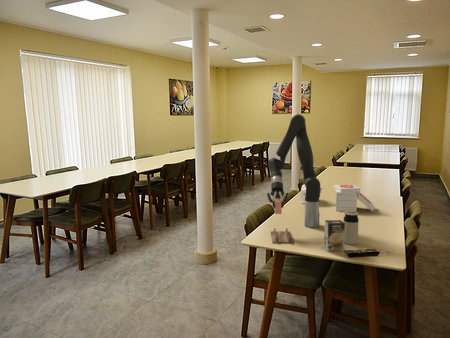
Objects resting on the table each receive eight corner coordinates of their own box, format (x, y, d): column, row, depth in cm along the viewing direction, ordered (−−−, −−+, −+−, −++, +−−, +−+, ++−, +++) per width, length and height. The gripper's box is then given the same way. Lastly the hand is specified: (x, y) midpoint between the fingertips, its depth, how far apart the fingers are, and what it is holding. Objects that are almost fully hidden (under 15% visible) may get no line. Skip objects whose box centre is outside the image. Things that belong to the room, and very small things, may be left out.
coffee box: (327, 252, 188) (328, 223, 186) (323, 247, 194) (324, 220, 192) (344, 251, 188) (345, 223, 186) (339, 247, 195) (340, 219, 192)
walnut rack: (289, 232, 219) (289, 228, 219) (293, 243, 202) (293, 238, 201) (270, 232, 220) (270, 228, 220) (272, 243, 203) (272, 238, 202)
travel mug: (360, 244, 198) (361, 214, 195) (346, 245, 197) (347, 214, 194) (353, 239, 205) (355, 210, 203) (340, 240, 205) (341, 211, 202)
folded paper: (301, 184, 285) (322, 186, 281) (302, 179, 308) (322, 181, 304) (299, 204, 288) (320, 207, 284) (300, 197, 311) (320, 200, 307)
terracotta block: (281, 212, 217) (281, 199, 216) (281, 213, 213) (281, 201, 212) (274, 212, 218) (274, 199, 216) (274, 214, 214) (274, 201, 213)
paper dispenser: (375, 214, 257) (376, 190, 254) (333, 211, 266) (333, 188, 263) (372, 207, 275) (373, 185, 272) (333, 205, 284) (333, 183, 281)
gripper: (266, 181, 221) (266, 204, 211) (288, 181, 219) (290, 204, 209) (265, 187, 227) (266, 210, 217) (287, 187, 225) (289, 210, 215)
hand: (278, 207), depth 213 cm, fingers closed on terracotta block, 4 cm apart
